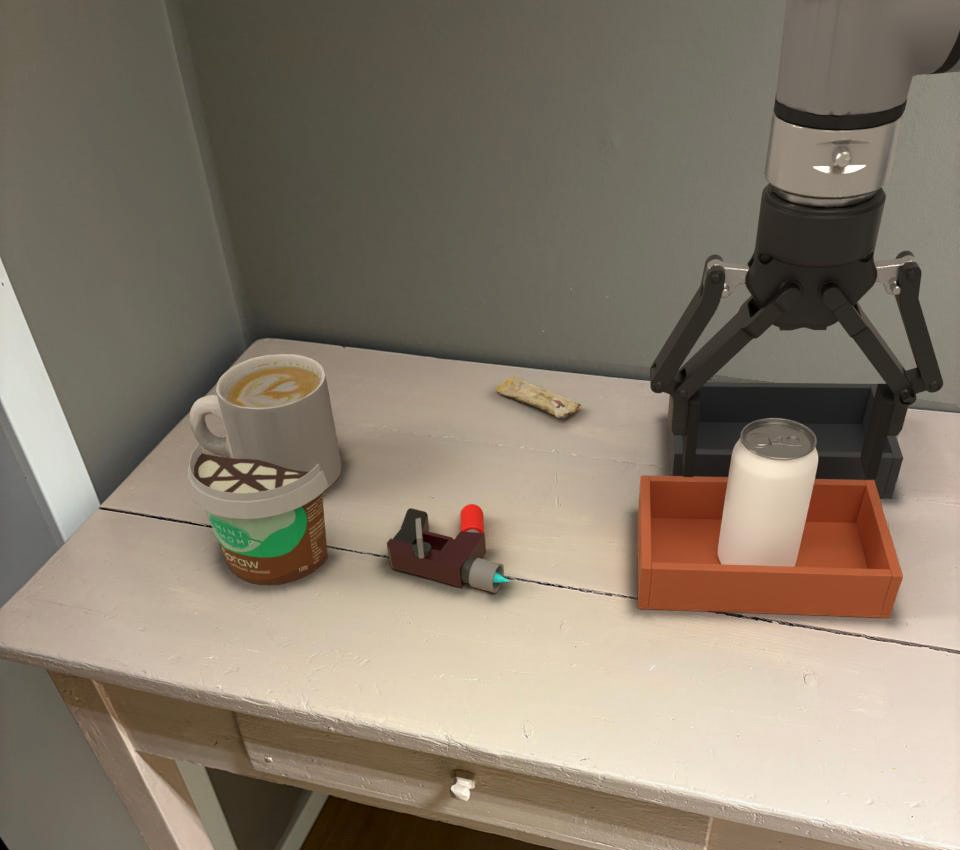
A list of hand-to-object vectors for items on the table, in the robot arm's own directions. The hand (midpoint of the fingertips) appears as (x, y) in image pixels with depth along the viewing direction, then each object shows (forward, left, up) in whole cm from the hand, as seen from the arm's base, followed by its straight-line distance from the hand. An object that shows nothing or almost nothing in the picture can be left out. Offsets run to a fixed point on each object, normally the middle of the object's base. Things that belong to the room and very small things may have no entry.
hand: (776, 468), depth 77 cm
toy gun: (+25, 0, -10) cm, 27 cm away
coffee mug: (+45, -12, -10) cm, 48 cm away
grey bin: (-3, -16, -10) cm, 19 cm away
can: (0, 0, -9) cm, 9 cm away
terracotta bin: (0, 0, -10) cm, 10 cm away
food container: (+42, +3, -10) cm, 43 cm away
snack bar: (+20, -25, -10) cm, 34 cm away
